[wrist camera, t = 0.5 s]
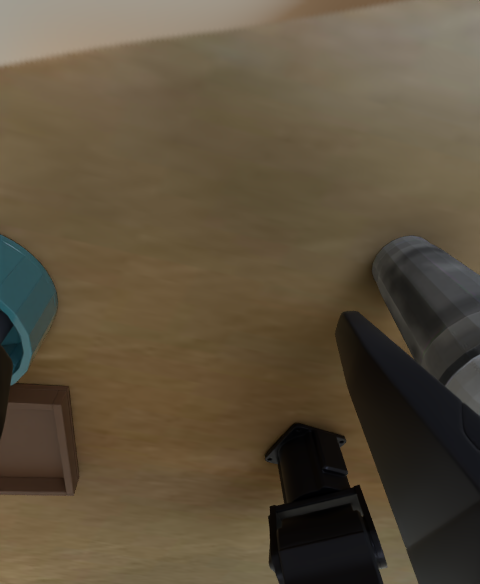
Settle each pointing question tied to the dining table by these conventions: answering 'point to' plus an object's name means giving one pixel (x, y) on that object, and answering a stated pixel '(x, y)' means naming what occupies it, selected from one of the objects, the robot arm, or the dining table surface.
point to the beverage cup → (434, 311)
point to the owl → (4, 325)
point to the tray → (38, 442)
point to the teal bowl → (24, 304)
